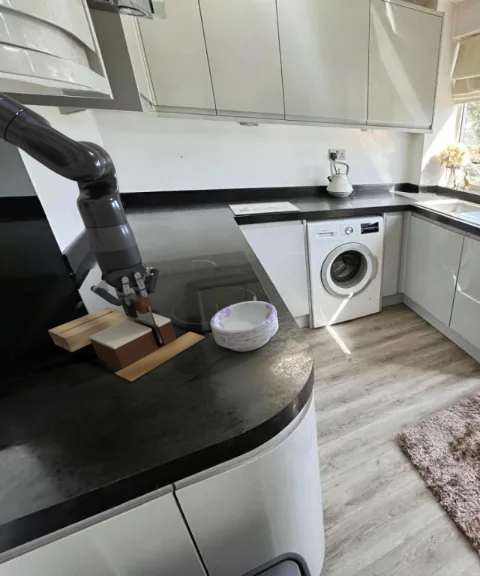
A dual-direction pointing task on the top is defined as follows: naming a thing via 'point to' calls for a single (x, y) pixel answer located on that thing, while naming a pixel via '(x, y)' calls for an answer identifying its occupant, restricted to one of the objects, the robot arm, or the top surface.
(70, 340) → the knife block
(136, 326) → the loaf cake
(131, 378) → the cutting board
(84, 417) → the top surface
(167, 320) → the cake slice
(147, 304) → the cake cutter
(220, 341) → the paper bowls
